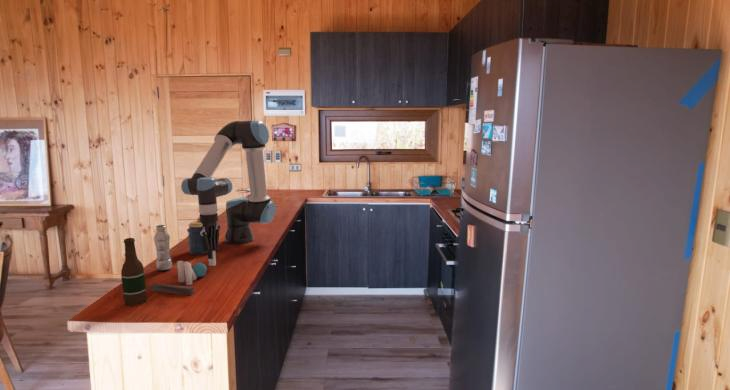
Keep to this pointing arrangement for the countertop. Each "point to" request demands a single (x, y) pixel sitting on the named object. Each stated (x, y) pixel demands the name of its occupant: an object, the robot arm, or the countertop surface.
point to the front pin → (191, 271)
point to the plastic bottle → (162, 248)
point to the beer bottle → (133, 276)
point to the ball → (199, 269)
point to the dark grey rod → (172, 289)
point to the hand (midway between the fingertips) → (212, 265)
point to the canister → (195, 238)
